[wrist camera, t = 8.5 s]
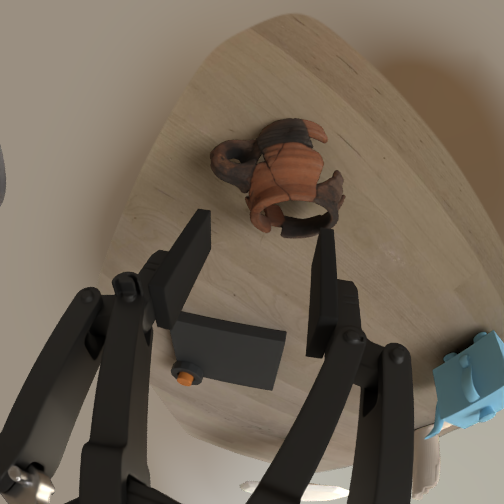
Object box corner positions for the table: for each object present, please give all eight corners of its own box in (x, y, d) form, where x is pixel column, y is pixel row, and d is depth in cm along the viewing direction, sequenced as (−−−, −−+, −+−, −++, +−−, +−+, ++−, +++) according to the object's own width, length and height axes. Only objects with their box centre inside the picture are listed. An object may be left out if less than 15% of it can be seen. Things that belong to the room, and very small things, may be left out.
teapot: (484, 315, 33) (510, 388, 23) (510, 348, 36) (528, 407, 26) (396, 372, 43) (401, 441, 33) (436, 394, 47) (443, 451, 36)
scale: (179, 365, 53) (173, 380, 50) (167, 307, 43) (158, 325, 40) (272, 385, 51) (270, 401, 48) (286, 331, 41) (283, 351, 38)
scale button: (180, 376, 49) (177, 383, 48) (178, 369, 48) (175, 376, 46) (194, 380, 49) (191, 387, 48) (193, 373, 47) (190, 380, 46)
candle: (460, 421, 54) (466, 487, 38) (414, 437, 61) (415, 501, 45) (457, 414, 52) (464, 486, 36) (408, 431, 59) (408, 500, 43)
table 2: (239, 416, 63) (223, 479, 50) (360, 420, 56) (358, 488, 43) (259, 450, 78) (249, 496, 65) (350, 452, 71) (346, 501, 58)
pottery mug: (355, 128, 24) (371, 203, 21) (313, 184, 33) (317, 251, 30) (224, 91, 22) (209, 165, 19) (207, 161, 30) (195, 230, 27)
